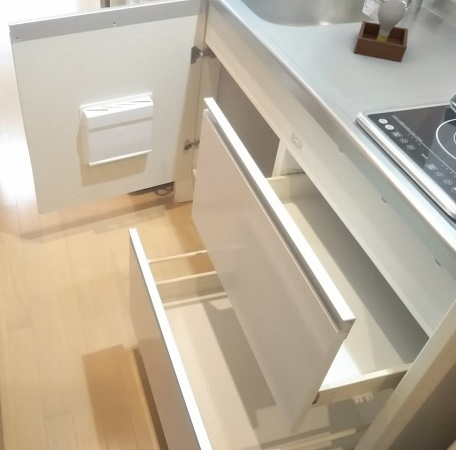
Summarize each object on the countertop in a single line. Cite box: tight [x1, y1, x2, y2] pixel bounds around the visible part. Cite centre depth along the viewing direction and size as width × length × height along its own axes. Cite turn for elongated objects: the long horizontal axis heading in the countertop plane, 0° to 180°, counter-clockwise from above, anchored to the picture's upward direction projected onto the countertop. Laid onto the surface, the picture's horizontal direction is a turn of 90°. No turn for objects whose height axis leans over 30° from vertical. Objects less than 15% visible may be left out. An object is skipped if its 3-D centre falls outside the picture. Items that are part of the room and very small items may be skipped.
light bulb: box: [376, 0, 406, 42], centre depth 118 cm, size 5×6×10 cm
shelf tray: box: [353, 20, 409, 63], centre depth 120 cm, size 10×11×4 cm
